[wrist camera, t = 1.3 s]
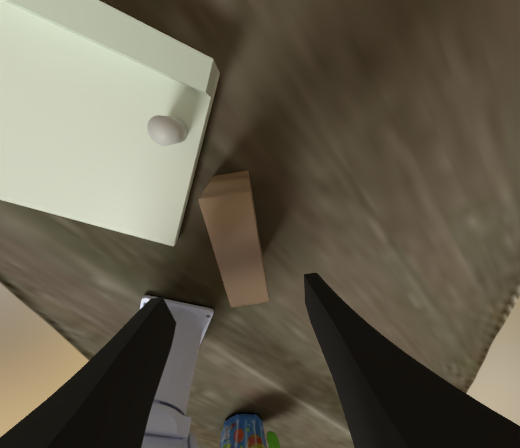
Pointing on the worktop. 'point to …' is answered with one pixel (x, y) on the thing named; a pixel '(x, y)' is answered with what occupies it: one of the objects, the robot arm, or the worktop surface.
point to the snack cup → (246, 433)
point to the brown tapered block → (235, 237)
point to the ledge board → (100, 116)
